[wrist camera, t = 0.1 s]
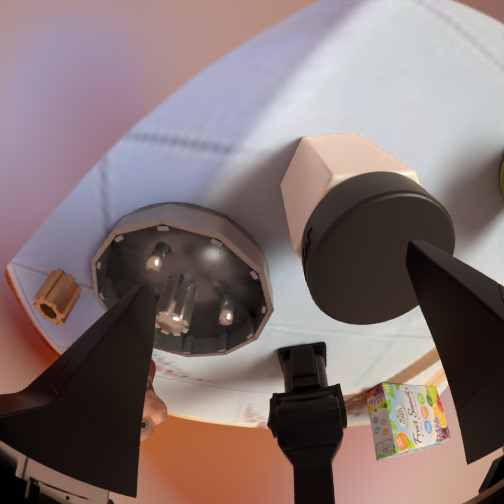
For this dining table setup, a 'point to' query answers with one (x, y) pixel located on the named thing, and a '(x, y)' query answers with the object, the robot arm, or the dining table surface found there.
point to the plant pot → (502, 177)
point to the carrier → (188, 277)
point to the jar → (358, 226)
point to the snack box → (405, 419)
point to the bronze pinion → (57, 297)
